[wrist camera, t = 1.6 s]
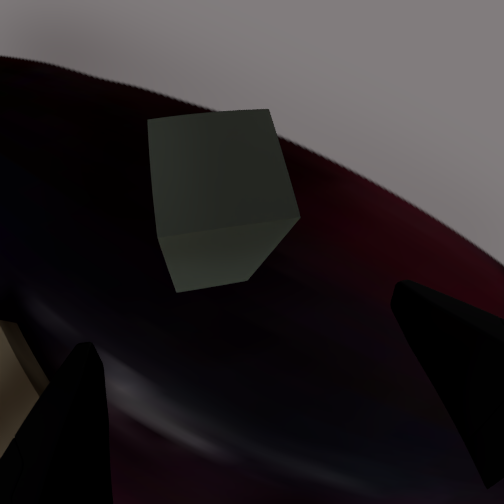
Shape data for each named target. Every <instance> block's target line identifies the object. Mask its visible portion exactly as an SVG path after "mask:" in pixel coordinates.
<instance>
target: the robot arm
mask: <svg viewBox="0 0 504 504" xmlns="http://www.w3.org/2000/svg"><path fill="white" fill-rule="evenodd" d="M391 309H392V311H393V313H394V315H395V317H396V319H397V321H398V323H399V325H400V327H401V329H402V331H403V333H404V335H405V337H406V339H407V341H408V343H409V345H410V347H411V349H412V351H413V352H414V354H415V356H416V357H417V359H418V360H419V362H420V364H421V365H422V367H423V369H424V371H425V372H426V374H427V376H428V377H429V379H430V381H431V382H432V384H433V386H434V388H435V389H436V391H437V393H438V395H439V396H440V398H441V400H442V402H443V404H444V405H445V407H446V409H447V411H448V413H449V414H450V416H451V418H452V420H453V422H454V424H455V426H456V428H457V429H458V431H459V433H460V435H461V437H462V439H463V441H464V443H465V445H466V447H467V449H468V451H469V453H470V455H471V457H472V459H473V461H474V463H475V466H476V468H477V470H478V472H479V474H480V476H481V478H482V480H483V483H484V485H485V487H486V488H487V489H489V488H490V487H492V486H493V485H494V484H496V483H497V482H499V481H500V480H502V479H503V478H504V319H502V318H499V317H498V316H495V315H493V314H491V313H488V312H486V311H483V310H481V309H479V308H476V307H474V306H472V305H469V304H467V303H465V302H462V301H460V300H457V299H455V298H453V297H450V296H448V295H445V294H443V293H440V292H438V291H436V290H433V289H431V288H428V287H426V286H423V285H421V284H418V283H416V282H413V281H411V280H403V281H400V282H398V283H397V284H396V285H395V289H394V292H393V296H392V299H391ZM0 504H113V497H112V485H111V471H110V451H109V418H108V408H107V399H106V388H105V377H104V367H103V363H102V361H101V359H100V357H99V355H98V353H97V351H96V349H95V347H94V345H93V344H92V343H91V342H85V343H79V344H77V345H76V346H75V348H74V349H73V350H72V352H71V353H70V354H69V356H68V357H67V358H66V360H65V361H64V363H63V364H62V365H61V367H60V368H59V370H58V371H57V372H56V374H55V375H54V377H53V378H52V380H51V381H50V382H49V384H48V385H47V387H46V388H45V390H44V391H43V393H42V394H41V396H40V397H39V399H38V400H37V402H36V403H35V405H34V406H33V408H32V409H31V411H30V412H29V414H28V415H27V417H26V418H25V420H24V421H23V423H22V425H21V426H20V428H19V429H18V431H17V433H16V434H15V438H13V439H12V440H11V442H10V444H9V445H8V447H7V449H6V450H5V452H4V453H3V455H2V457H1V458H0Z"/></svg>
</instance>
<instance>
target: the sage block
mask: <svg viewBox="0 0 504 504" xmlns="http://www.w3.org/2000/svg"><path fill="white" fill-rule="evenodd" d="M148 139H149V155H150V168H151V181H152V192H153V202H154V211H155V220H156V229H157V237H158V241H159V244H160V247H161V250H162V253H163V256H164V259H165V261H166V264H167V267H168V270H169V273H170V276H171V278H172V281H173V284H174V287H175V290H176V292H177V293H178V292H184V291H190V290H196V289H202V288H208V287H214V286H220V285H225V284H231V283H237V282H243V281H247V280H248V279H249V278H250V277H251V276H252V274H253V273H254V272H255V271H256V270H257V269H258V267H259V266H260V265H261V264H262V263H263V261H264V260H265V259H266V258H267V257H268V256H269V254H270V253H271V252H272V251H273V250H274V248H275V247H276V246H277V245H278V244H279V243H280V241H281V240H282V239H283V238H284V237H285V235H286V234H287V233H288V232H289V231H290V229H291V228H292V227H293V226H294V225H295V223H296V222H297V221H298V220H299V219H300V218H301V217H300V213H299V210H298V206H297V202H296V199H295V195H294V192H293V188H292V185H291V181H290V178H289V174H288V171H287V167H286V164H285V160H284V157H283V154H282V150H281V147H280V144H279V140H278V137H277V134H276V131H275V127H274V124H273V121H272V118H271V115H270V112H269V109H257V110H237V111H221V112H209V113H198V114H188V115H180V116H171V117H164V118H156V119H149V120H148Z"/></svg>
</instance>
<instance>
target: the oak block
mask: <svg viewBox="0 0 504 504" xmlns="http://www.w3.org/2000/svg"><path fill="white" fill-rule="evenodd" d="M49 382H50V381H49V380H48V378H47V377H46V375H45V373H44V372H43V370H42V368H41V367H40V365H39V363H38V362H37V360H36V358H35V357H34V355H33V353H32V351H31V349H30V348H29V346H28V344H27V342H26V340H25V338H24V336H23V335H22V333H21V331H20V329H19V327H18V325H17V323H13V322H8V321H2V320H0V458H1V457H2V455H3V453H4V452H5V450H6V449H7V447H8V445H9V444H10V442H11V440H12V439H13V438H15V434H16V433H17V431H18V429H19V428H20V426H21V425H22V423H23V421H24V420H25V418H26V417H27V415H28V414H29V412H30V411H31V409H32V408H33V406H34V405H35V403H36V402H37V400H38V399H39V397H40V396H41V394H42V393H43V391H44V390H45V388H46V387H47V385H48V384H49Z"/></svg>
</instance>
